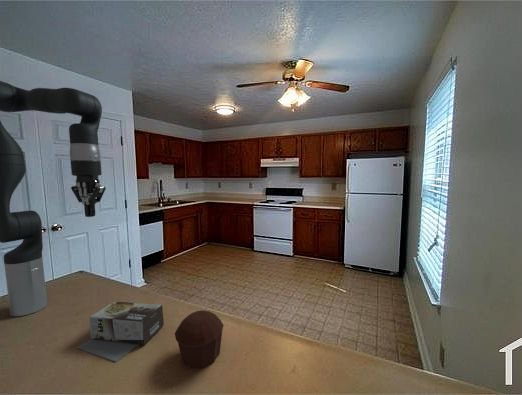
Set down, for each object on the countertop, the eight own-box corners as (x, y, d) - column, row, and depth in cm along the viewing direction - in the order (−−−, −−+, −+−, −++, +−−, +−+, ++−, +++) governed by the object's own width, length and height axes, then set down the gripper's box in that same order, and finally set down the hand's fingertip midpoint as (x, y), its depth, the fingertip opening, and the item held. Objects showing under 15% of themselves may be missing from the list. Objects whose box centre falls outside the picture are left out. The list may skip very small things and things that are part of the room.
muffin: (185, 339, 66) (183, 303, 65) (227, 338, 66) (225, 302, 66) (169, 375, 55) (166, 331, 54) (220, 373, 55) (218, 330, 54)
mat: (77, 348, 64) (77, 347, 64) (125, 318, 77) (125, 317, 77) (116, 362, 59) (115, 361, 59) (160, 328, 72) (160, 327, 72)
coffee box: (90, 339, 67) (143, 346, 64) (88, 316, 66) (142, 321, 63) (116, 321, 76) (164, 325, 72) (115, 300, 75) (163, 304, 72)
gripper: (58, 160, 75) (63, 217, 76) (87, 158, 70) (92, 219, 71) (84, 161, 82) (88, 213, 83) (112, 159, 77) (116, 215, 78)
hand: (90, 216), depth 77 cm, fingers closed
